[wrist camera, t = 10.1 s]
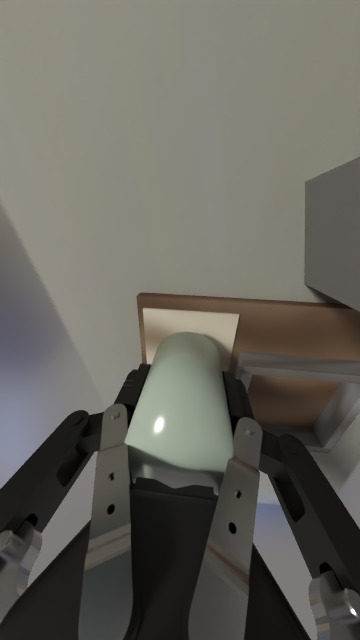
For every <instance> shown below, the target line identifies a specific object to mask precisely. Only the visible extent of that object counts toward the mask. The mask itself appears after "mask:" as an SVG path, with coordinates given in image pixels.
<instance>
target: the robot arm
mask: <svg viewBox="0 0 360 640" xmlns="http://www.w3.org/2000/svg"><path fill="white" fill-rule="evenodd" d="M150 367H151V364H143V363H141V364H140V366H139V369H138V370H132V371H131V372H130V373H129V374H128V376H127V378H126V381H125V382H124V384H123V386H122V388H121V390H120V392H119V394H118V396H117V398H116V400H115V402H114V404H113V405H111V406H110V407H108V408H107V409H106V410H105V412H102V413H98V414H93V415H89V414H88V412H86V411H84V410H79V411H75V412H73V413H72V414H70V415H69V416H68V417H67V418H66V419H65V420H64V421H63V422H62V423H61V424H60V425H59V426H58V428H56V430H55V431H54V432H53V433H52V434H51V435H50V436H49V437H48V438H47V439H46V440H45V442H44V443H43V444H42V445H41V446H40V447H39V448H38V449H37V450H36V452H34V453H33V455H32V456H31V457H30V458H29V459H28V460H27V461H26V462H25V463H24V465H22V466H21V468H20V469H19V470H18V471H17V472H16V473H15V474H14V475H13V476H12V478H10V479H9V481H8V482H7V483H6V484H5V485H4V486H3V487H2V488H1V489H0V640H311V639H310V637H309V636H308V634H307V632H306V631H305V629H304V627H303V626H302V624H301V622H300V621H299V619H298V617H297V616H296V614H295V612H294V611H293V609H292V607H291V606H290V604H289V602H288V601H287V599H286V597H285V596H284V594H283V592H282V591H281V589H280V587H279V586H278V584H277V582H276V581H275V579H274V577H273V576H272V574H271V572H270V571H269V569H268V567H267V566H266V564H265V562H264V560H263V559H262V557H261V555H260V554H259V553H258V550H257V549H256V547H255V545H254V544H253V533H254V525H255V515H256V506H257V497H258V488H259V479H260V473H259V471H258V470H260V471H262V472H264V473H266V474H268V477H269V479H270V481H271V484H272V486H273V488H274V491H275V493H276V495H277V497H278V500H279V502H280V504H281V507H282V509H283V511H284V514H285V516H286V518H287V521H288V523H289V525H290V528H291V530H292V532H293V534H294V537H295V539H296V541H297V544H298V546H299V548H300V551H301V553H302V555H303V558H304V560H305V562H306V565H307V567H308V569H309V572H310V574H311V576H312V580H311V582H310V585H309V601H310V605H311V608H312V611H313V615H314V618H315V622H316V627H317V640H360V529H359V527H358V526H357V524H356V523H355V522H354V520H353V518H352V517H351V516H350V514H349V513H348V511H347V509H346V508H345V506H344V505H343V503H342V502H341V500H340V499H339V497H338V495H337V494H336V492H335V491H334V489H333V488H332V486H331V485H330V483H329V482H328V480H327V479H326V477H325V476H324V474H323V473H322V471H321V470H320V468H319V467H318V465H317V464H316V462H315V461H314V459H313V458H312V456H311V455H310V453H309V451H308V450H307V448H306V447H305V445H304V444H303V443H302V442H301V441H300V440H299V439H298V438H296V437H295V436H293V435H290V434H282V435H281V436H280V437H278V436H276V435H273V434H271V433H269V432H267V431H265V430H263V429H262V428H261V427H260V425H259V424H258V423H257V422H256V421H255V418H254V415H253V411H252V408H251V405H250V401H249V398H248V394H247V391H246V387H245V385H244V384H243V382H242V381H241V380H239V379H235V376H234V373H233V372H231V371H223V378H224V384H225V390H226V396H227V403H228V409H229V415H230V420H231V427H232V433H233V447H234V453H235V458H234V457H232V458H229V459H228V462H227V465H226V469H225V472H224V476H223V479H222V483H221V486H220V490H219V493H218V496H217V495H215V494H214V487H208V486H201V485H189V486H185V487H180V488H172V487H170V486H168V485H166V484H164V483H162V482H160V481H158V480H156V479H151V478H143V477H137V478H136V481H134V476H133V471H132V465H131V460H130V455H129V450H128V445H126V443H124V442H125V439H126V436H127V433H128V428H129V425H130V423H131V420H132V417H133V414H134V411H135V409H136V406H137V403H138V400H139V398H140V395H141V392H142V389H143V386H144V384H145V381H146V378H147V375H148V372H149V370H150ZM99 450H100V451H99ZM95 451H98V453H97V460H96V471H95V482H94V493H93V503H92V515H91V520H90V521H89V522H88V523H87V524H86V525H85V526H84V527H83V528H82V530H81V531H80V532H79V533H78V534H77V535H76V536H75V537H74V538H73V539H72V540H71V541H70V542H69V544H68V545H67V546H66V547H65V548H64V549H63V550H62V551H61V553H59V554H58V556H57V557H56V558H55V559H54V560H53V561H52V562H51V563H50V564H49V565H48V566H47V568H46V569H45V570H44V571H43V572H42V573H41V574H40V575H39V576H38V577H37V578H36V579H35V580H34V582H33V583H32V584H31V585H30V586H29V587H28V588H27V585H28V584H27V583H28V579H29V575H30V572H31V569H32V567H33V565H34V563H35V561H36V559H37V557H38V555H39V553H40V550H41V546H42V536H41V533H42V531H43V530H44V528H45V527H46V525H47V523H48V522H49V521H50V519H51V518H52V516H53V515H54V513H55V512H56V510H57V508H58V507H59V505H60V504H61V502H62V501H63V499H64V498H65V496H66V495H67V493H68V491H69V490H70V488H71V487H72V485H73V484H74V482H75V481H76V479H77V478H78V476H79V475H80V473H81V472H82V470H83V469H84V467H85V466H86V464H87V462H88V461H89V459H90V458H91V456H92V455H93V453H94V452H95Z"/></svg>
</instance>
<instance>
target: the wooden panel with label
mask: <svg viewBox="0 0 360 640" xmlns="http://www.w3.org/2000/svg"><path fill="white" fill-rule="evenodd" d="M137 305H138V316H139V327H140V338H141V349H142V360H143V364H152V361H153V358H154V356H155V353H156V350H157V347H158V346H159V344H160V343H161V341H162V340H164V339H165V338H166V337H168V336H169V335H172V334H174V333H178V332H194V333H198V334H201V335H203V336H205V337H207V338H208V339H210V340H211V341H212V342H213V343H214V344H215V345H216V347H217V349H218V351H219V354H220V360H221V366H222V372H223V371H231V372H233V373H234V376H235V379H239V380H241V381H242V382H243V384H244V385H245V387H246V391H247V394H248V398H249V401H250V405H251V408H252V411H253V415H254V418H255V421H256V422H257V423H258V424H259V425H260V427H261V428H262V429H263V430H265V431H267V432H269V433H271V434H273V435H276V436H278V437H280V436H281V435H282V434H290V435H293V436H295V437H296V438H298V439H299V440H300V441H301V442H302V443H303V444H304V445H305V447H306V448H307V450H308V451H314V452H323V453H329V452H330V450H331V449H332V448H333V446H334V445H335V444H336V442H337V441H338V440H339V439H340V437H341V436H342V435H343V433H344V432H345V431H346V429H347V428H348V427H349V425H350V424H351V423H352V421H353V420H354V419H355V418H356V416H357V415H358V414H359V412H360V312H359V311H357V310H355V309H353V308H351V307H349V306H347V305H345V304H327V303H310V302H293V301H276V300H259V299H241V298H224V297H207V296H190V295H173V294H156V293H139V295H138V296H137Z"/></svg>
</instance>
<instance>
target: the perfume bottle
mask: <svg viewBox="0 0 360 640" xmlns="http://www.w3.org/2000/svg"><path fill="white" fill-rule="evenodd" d="M305 284H306V285H308V286H310V287H312V288H314V289H316V290H318V291H320V292H322V293H324V294H326V295H328V296H329V297H331V298H333V299H335V300H337V301H339V302H341V303H343V304H345V305H347V306H349V307H351V308H353V309H355V310H357V311H359V312H360V157H359V158H357V159H354V160H352V161H350V162H348V163H346V164H343V165H341V166H339V167H337V168H335V169H332V170H330V171H328V172H326V173H324V174H321V175H319V176H317V177H315V178H313V179H311V180H308V181H306V186H305Z"/></svg>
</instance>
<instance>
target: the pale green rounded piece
mask: <svg viewBox="0 0 360 640" xmlns="http://www.w3.org/2000/svg"><path fill="white" fill-rule="evenodd" d="M124 443H126V445H128V450H129V455H130V460H131V465H132V471H133V476H134V481H136V478H137V477H143V478H151V479H156V480H158V481H160V482H162V483H164V484H166V485H168V486H170V487H172V488H180V487H185V486H189V485H201V486H208V487H214V494H215V495H217V494H218V493H219V490H220V486H221V483H222V479H223V476H224V472H225V469H226V465H227V462H228V459H229V458H232V457H234V458H235V453H234V447H233V433H232V427H231V420H230V415H229V409H228V403H227V396H226V390H225V384H224V378H223V372H222V366H221V360H220V354H219V351H218V349H217V347H216V345H215V344H214V343H213V342H212V341H211V340H210V339H208V338H207V337H205V336H203V335H201V334H198V333H194V332H178V333H174V334H172V335H169V336H168V337H166V338H165V339H164V340H162V341H161V343H160V344H159V346H158V347H157V350H156V353H155V356H154V358H153V361H152V364H151V367H150V370H149V372H148V375H147V378H146V381H145V384H144V386H143V389H142V392H141V395H140V398H139V400H138V403H137V406H136V409H135V411H134V414H133V417H132V420H131V423H130V425H129V428H128V433H127V436H126V439H125V442H124Z"/></svg>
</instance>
